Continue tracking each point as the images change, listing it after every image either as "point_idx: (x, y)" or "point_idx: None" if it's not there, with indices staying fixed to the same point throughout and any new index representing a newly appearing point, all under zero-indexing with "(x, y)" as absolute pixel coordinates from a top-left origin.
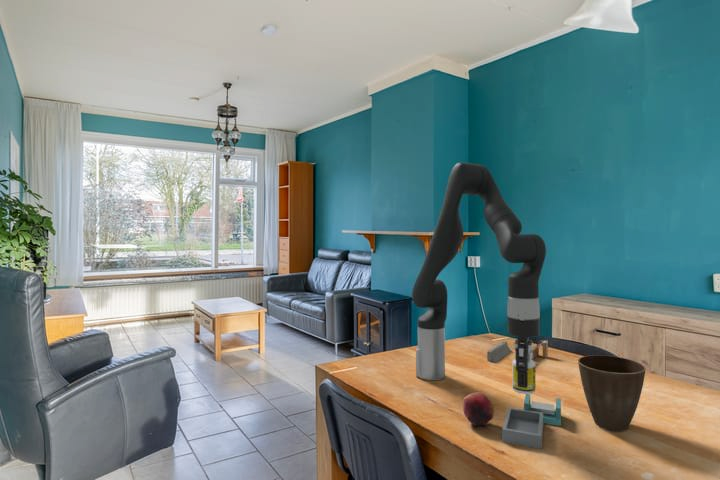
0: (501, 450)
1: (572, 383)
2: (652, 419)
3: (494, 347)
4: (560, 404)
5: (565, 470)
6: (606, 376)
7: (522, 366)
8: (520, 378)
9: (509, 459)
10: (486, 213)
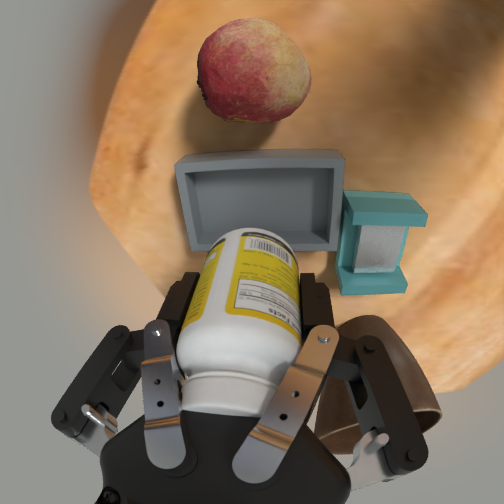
0: (146, 163)
1: None
2: None
3: None
4: (368, 293)
5: (150, 270)
6: (317, 430)
7: (126, 363)
8: (164, 307)
9: (123, 185)
10: None
